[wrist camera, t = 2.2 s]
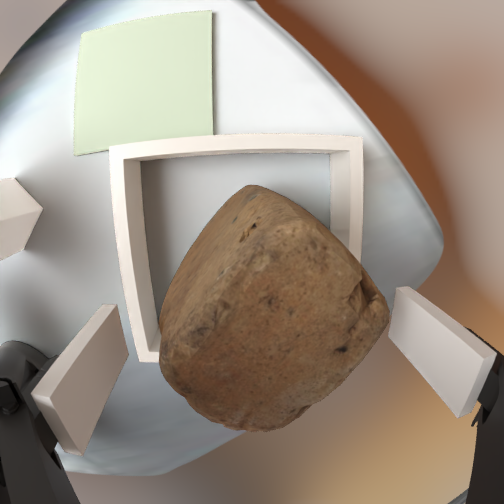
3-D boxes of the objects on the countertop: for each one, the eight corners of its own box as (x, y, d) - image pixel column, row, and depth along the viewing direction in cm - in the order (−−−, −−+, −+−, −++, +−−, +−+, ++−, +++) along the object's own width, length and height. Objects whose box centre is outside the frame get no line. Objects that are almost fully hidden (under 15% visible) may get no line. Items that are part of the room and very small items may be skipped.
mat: (76, 155, 25) (73, 155, 25) (83, 35, 22) (81, 33, 21) (213, 138, 26) (213, 138, 26) (212, 12, 23) (211, 10, 22)
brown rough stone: (248, 174, 27) (302, 176, 8) (305, 228, 29) (431, 324, 10) (173, 259, 29) (97, 402, 9) (230, 306, 30) (241, 477, 11)
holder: (150, 336, 31) (139, 362, 26) (128, 150, 26) (109, 146, 21) (335, 324, 32) (351, 348, 27) (340, 142, 27) (362, 137, 22)
